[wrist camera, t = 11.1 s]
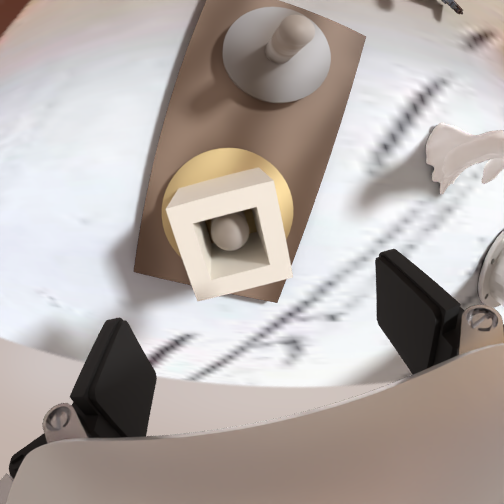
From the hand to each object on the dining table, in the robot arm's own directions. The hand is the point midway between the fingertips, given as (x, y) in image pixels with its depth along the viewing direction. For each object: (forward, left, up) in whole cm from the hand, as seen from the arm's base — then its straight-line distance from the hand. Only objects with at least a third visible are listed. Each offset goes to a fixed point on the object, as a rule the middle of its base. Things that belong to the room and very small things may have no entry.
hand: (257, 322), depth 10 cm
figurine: (-18, -11, -16) cm, 27 cm away
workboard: (+1, -5, -16) cm, 16 cm away
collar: (0, 0, -13) cm, 13 cm away
